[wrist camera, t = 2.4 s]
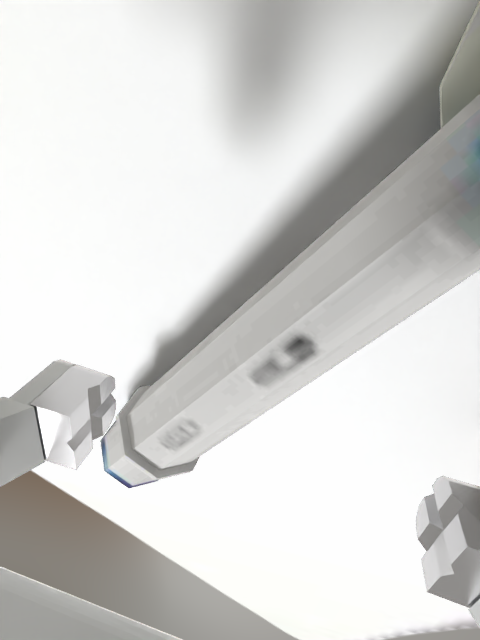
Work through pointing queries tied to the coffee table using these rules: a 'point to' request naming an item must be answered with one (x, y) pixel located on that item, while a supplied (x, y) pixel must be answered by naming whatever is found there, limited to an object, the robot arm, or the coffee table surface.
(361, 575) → the coffee table surface
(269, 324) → the white handheld device
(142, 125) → the coffee table surface
